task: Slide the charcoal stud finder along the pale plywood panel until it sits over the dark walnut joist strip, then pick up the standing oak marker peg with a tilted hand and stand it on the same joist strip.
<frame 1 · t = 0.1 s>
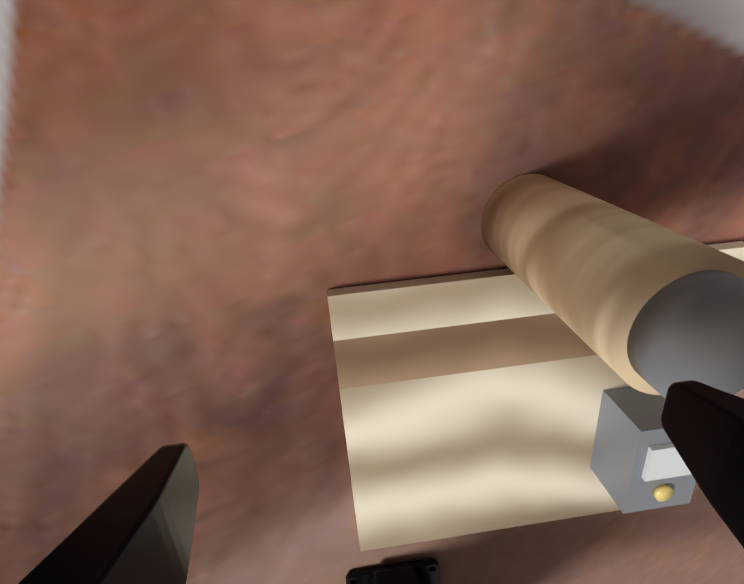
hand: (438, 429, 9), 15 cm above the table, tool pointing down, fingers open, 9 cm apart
plywood panel: (528, 410, 28), on the table
marker peg: (525, 219, 23), on the table
stud finder: (627, 425, 28), point 1 cm above the table, touching plywood panel
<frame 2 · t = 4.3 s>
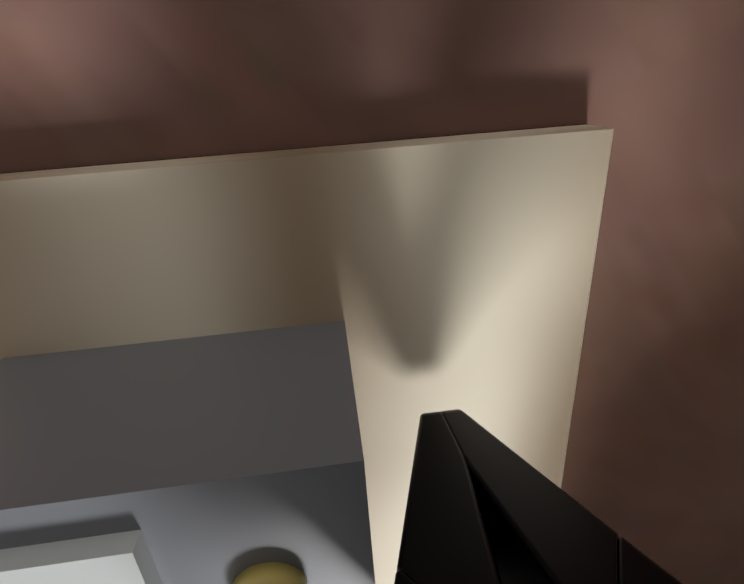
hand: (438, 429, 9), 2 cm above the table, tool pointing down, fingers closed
stud finder: (202, 425, 9), point 1 cm above the table, touching gripper
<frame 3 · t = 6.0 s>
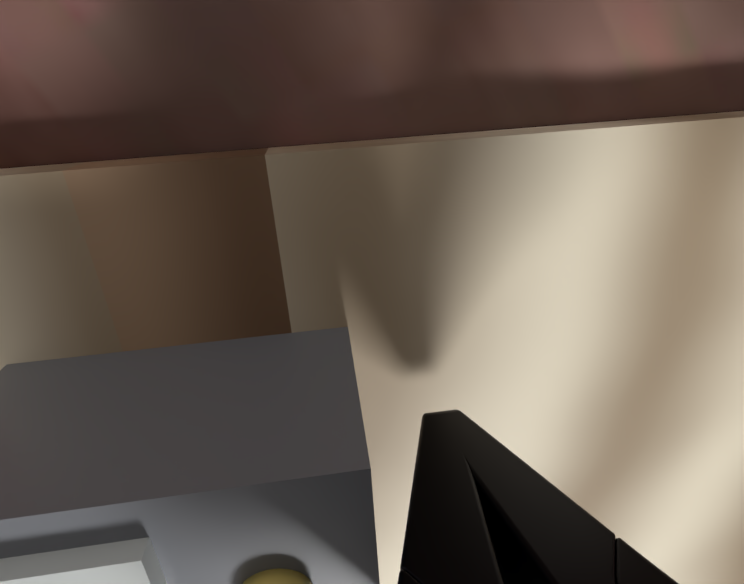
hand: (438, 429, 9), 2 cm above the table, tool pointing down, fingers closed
plywood panel: (473, 545, 13), on the table
stud finder: (205, 430, 9), point 1 cm above the table, touching gripper, plywood panel
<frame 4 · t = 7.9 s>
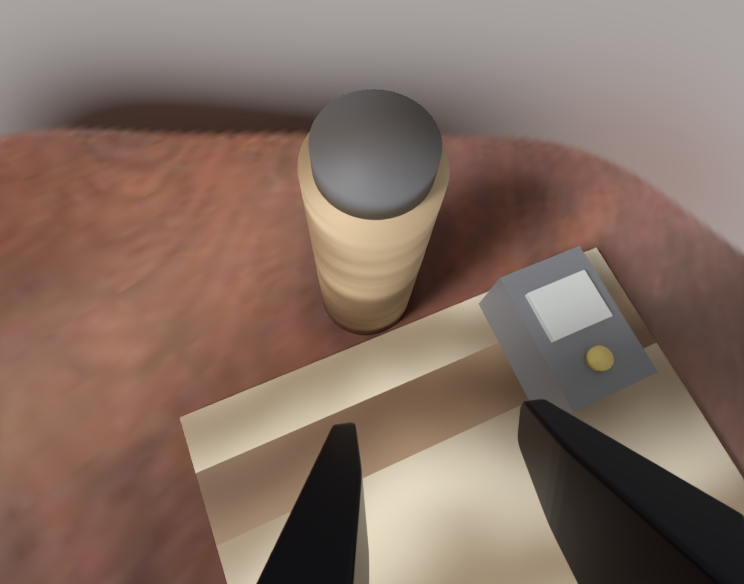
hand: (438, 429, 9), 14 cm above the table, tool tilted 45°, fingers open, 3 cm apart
plywood panel: (493, 523, 20), on the table
marker peg: (365, 293, 24), on the table
stud finder: (543, 343, 22), point 1 cm above the table, touching plywood panel
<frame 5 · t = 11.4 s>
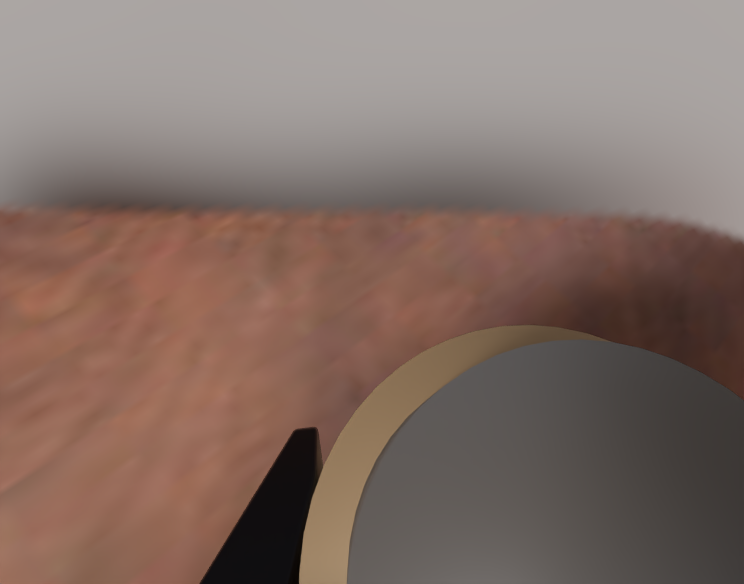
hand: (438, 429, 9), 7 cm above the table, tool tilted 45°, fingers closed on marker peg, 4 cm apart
marker peg: (408, 491, 14), on the table, touching gripper
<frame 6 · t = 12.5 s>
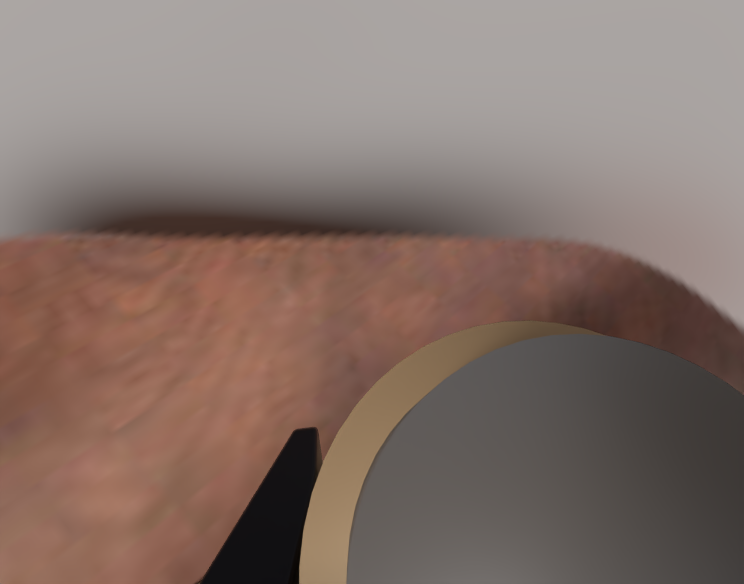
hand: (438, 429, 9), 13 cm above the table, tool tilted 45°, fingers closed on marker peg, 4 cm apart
marker peg: (408, 489, 14), point 7 cm above the table, touching gripper
when the fingers open (8 cm above the table, at t = 14.1 s): marker peg stays where it is, resting on plywood panel.
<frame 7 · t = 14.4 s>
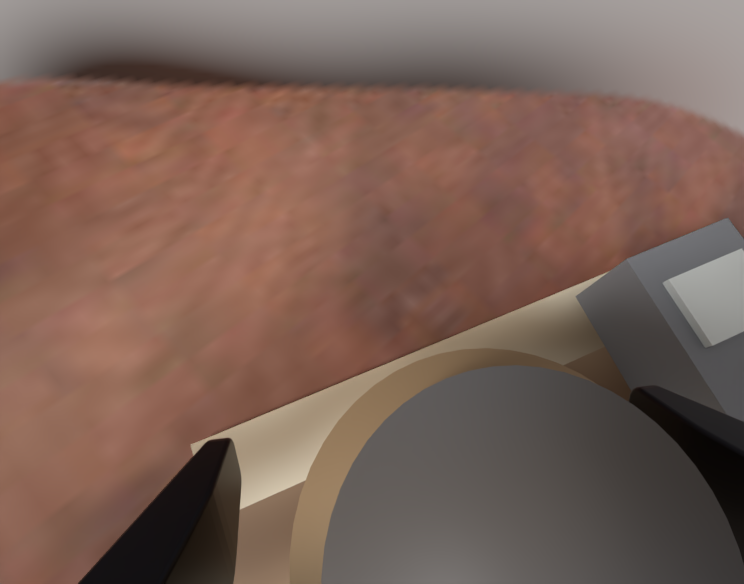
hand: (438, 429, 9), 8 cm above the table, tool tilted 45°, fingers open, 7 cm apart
marker peg: (404, 491, 15), point 1 cm above the table, touching plywood panel
stud finder: (663, 348, 17), point 1 cm above the table, touching plywood panel
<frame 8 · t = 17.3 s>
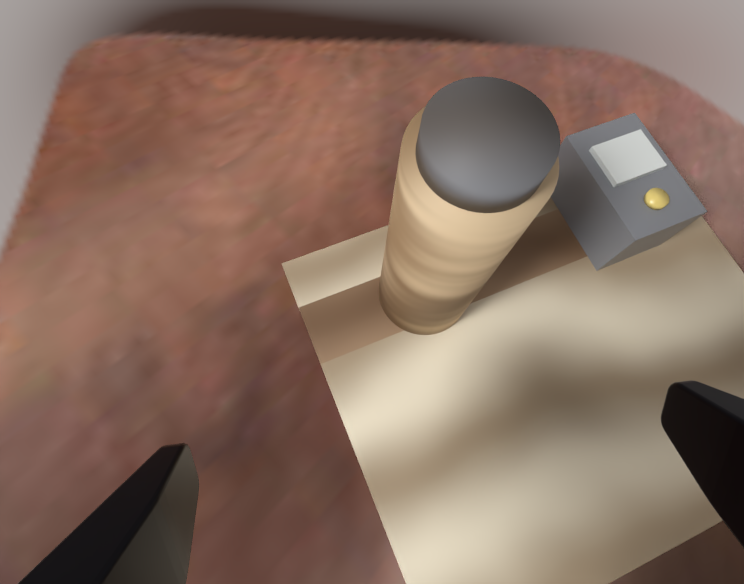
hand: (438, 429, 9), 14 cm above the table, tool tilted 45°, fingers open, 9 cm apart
plywood panel: (558, 357, 23), on the table
marker peg: (422, 292, 23), point 1 cm above the table, touching plywood panel
stud finder: (598, 210, 25), point 1 cm above the table, touching plywood panel
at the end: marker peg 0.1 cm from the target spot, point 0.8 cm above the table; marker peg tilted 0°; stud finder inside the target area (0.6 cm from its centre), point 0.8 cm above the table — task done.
